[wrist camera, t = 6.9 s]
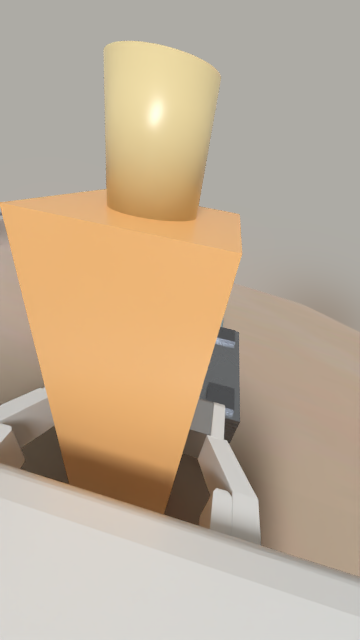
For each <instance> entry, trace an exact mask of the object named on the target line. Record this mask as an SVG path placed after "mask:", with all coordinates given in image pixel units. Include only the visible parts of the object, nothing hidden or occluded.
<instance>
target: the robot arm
mask: <svg viewBox="0 0 360 640" xmlns="http://www.w3.org/2000/svg"><path fill="white" fill-rule="evenodd" d="M53 426H55V425H54V421H53V417H52V413H51V409H50V405H49V401H48V397H47V393H46V389H45V386H44V388H38V389H36V390H33V391H31V392H29V393H27V394H24V395H22V396H20V397H18V398H15V399H13V400H11V401H9V402H6V403H4V404H2V405H0V640H360V577H359V576H356V575H353V574H350V573H346V572H343V571H340V570H337V569H334V568H331V567H328V566H324V565H321V564H318V563H315V562H312V561H309V560H306V559H302V558H299V557H296V556H293V555H290V554H287V553H283V552H280V551H277V550H274V549H271V548H268V547H265V546H261V536H260V520H259V505H258V498H257V496H256V495H255V493H254V491H253V489H252V487H251V485H250V483H249V481H248V479H247V477H246V475H245V474H244V472H243V470H242V468H241V466H240V464H239V462H238V460H237V458H236V456H235V454H234V453H233V451H232V449H231V447H230V445H229V443H228V441H227V440H224V426H225V405H223V404H219V403H215V402H212V401H208V400H204V399H201V398H199V399H198V403H197V406H196V409H195V413H194V416H193V419H192V423H191V426H190V429H189V433H188V436H187V439H186V443H185V446H184V449H183V454H186V455H189V456H192V457H195V458H198V462H199V465H200V468H201V471H202V474H203V477H204V480H205V483H206V486H207V489H208V492H209V495H210V498H209V500H208V502H207V504H206V506H205V507H204V509H203V511H202V513H201V515H200V519H199V526H198V525H195V524H192V523H189V522H186V521H183V520H179V519H176V518H173V517H170V516H167V515H164V514H160V513H157V512H154V511H151V510H148V509H145V508H142V507H138V506H135V505H132V504H129V503H126V502H123V501H119V500H116V499H113V498H110V497H107V496H104V495H101V494H97V493H94V492H91V491H88V490H85V489H82V488H78V487H75V486H72V485H69V484H66V483H63V482H59V481H56V480H53V479H50V478H47V477H44V476H41V475H37V474H34V473H31V472H28V471H25V470H22V469H20V468H21V466H22V465H23V464H24V462H25V457H24V455H23V453H22V450H21V448H22V447H23V446H25V445H26V444H28V443H29V442H31V441H32V440H34V439H35V438H37V437H38V436H40V435H41V434H43V433H44V432H46V431H47V430H49V429H50V428H52V427H53Z"/></svg>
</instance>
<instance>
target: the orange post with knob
mask: <svg viewBox="0 0 360 640" xmlns="http://www.w3.org/2000/svg"><path fill="white" fill-rule="evenodd" d="M220 81H221V76H220V74H219V72H218V71H217V70H216V69H215V68H214V67H213V66H212V65H210V64H209V63H207V62H205V61H204V60H202V59H200V58H198V57H196V56H193V55H191V54H188V53H186V52H183V51H181V50H177V49H174V48H171V47H167V46H163V45H158V44H154V43H147V42H139V41H119V42H114V43H110V44H108V45H107V46H106V47H105V48H104V92H105V142H106V187H107V188H106V189H103V190H95V191H87V192H79V193H71V194H63V195H55V196H47V197H39V198H31V199H23V200H15V201H8V202H0V207H1V211H2V215H3V219H4V223H5V227H6V231H7V235H8V239H9V243H10V247H11V251H12V255H13V260H14V264H15V268H16V272H17V276H18V280H19V284H20V288H21V292H22V296H23V300H24V304H25V308H26V312H27V316H28V320H29V324H30V328H31V332H32V336H33V340H34V344H35V348H36V352H37V356H38V360H39V364H40V368H41V373H42V377H43V381H44V385H45V389H46V393H47V397H48V401H49V405H50V409H51V413H52V417H53V421H54V425H55V429H56V433H57V437H58V441H59V445H60V449H61V453H62V457H63V461H64V465H65V469H66V473H67V477H68V481H69V485H72V486H75V487H78V488H82V489H85V490H88V491H91V492H94V493H97V494H101V495H104V496H107V497H110V498H113V499H116V500H119V501H123V502H126V503H129V504H132V505H135V506H138V507H142V508H145V509H148V510H151V511H154V512H157V513H160V514H164V513H165V509H166V506H167V503H168V499H169V496H170V493H171V489H172V486H173V483H174V479H175V476H176V473H177V469H178V466H179V463H180V459H181V456H182V453H183V449H184V446H185V443H186V439H187V436H188V433H189V429H190V426H191V423H192V419H193V416H194V413H195V409H196V406H197V403H198V399H199V396H200V393H201V389H202V386H203V383H204V379H205V376H206V373H207V369H208V366H209V363H210V359H211V356H212V353H213V349H214V346H215V343H216V339H217V336H218V333H219V329H220V326H221V323H222V319H223V316H224V313H225V309H226V306H227V303H228V299H229V296H230V293H231V289H232V286H233V283H234V279H235V276H236V272H237V269H238V266H239V263H240V259H241V256H242V243H241V227H240V215H239V214H236V213H231V212H226V211H221V210H216V209H210V208H205V207H200V206H199V200H200V195H201V189H202V183H203V178H204V171H205V166H206V161H207V155H208V149H209V144H210V137H211V131H212V126H213V121H214V115H215V109H216V103H217V98H218V92H219V86H220Z"/></svg>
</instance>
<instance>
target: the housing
mask: <svg viewBox="0 0 360 640" xmlns="http://www.w3.org/2000/svg"><path fill="white" fill-rule="evenodd" d="M199 398H201V399H204V400H208V401H212V402H215V403H219V404H223V405H225V426H224V440H227V441H228V443H230V441H231V439H232V437H233V435H234V433H235V431H236V429H237V427H238V425H239V423H240V389H239V332H236V331H235V330H231V329H227V328H222V327H220V329H219V333H218V336H217V339H216V343H215V346H214V349H213V353H212V356H211V359H210V363H209V366H208V369H207V373H206V376H205V379H204V383H203V386H202V389H201V393H200V396H199Z"/></svg>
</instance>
